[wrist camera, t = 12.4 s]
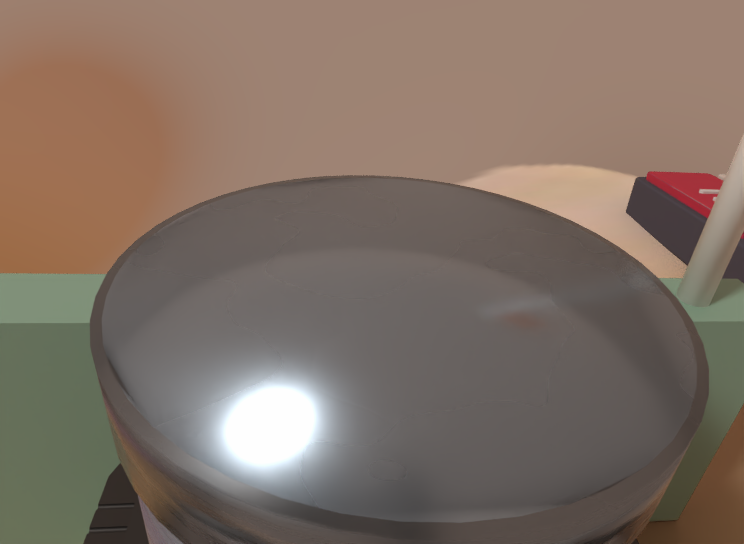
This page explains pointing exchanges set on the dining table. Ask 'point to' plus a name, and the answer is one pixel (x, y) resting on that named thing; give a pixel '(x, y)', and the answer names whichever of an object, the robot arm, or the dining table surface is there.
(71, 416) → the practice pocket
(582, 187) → the dining table surface
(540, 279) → the slate canister
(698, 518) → the dining table surface
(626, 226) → the dining table surface
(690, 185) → the calculator
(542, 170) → the dining table surface
